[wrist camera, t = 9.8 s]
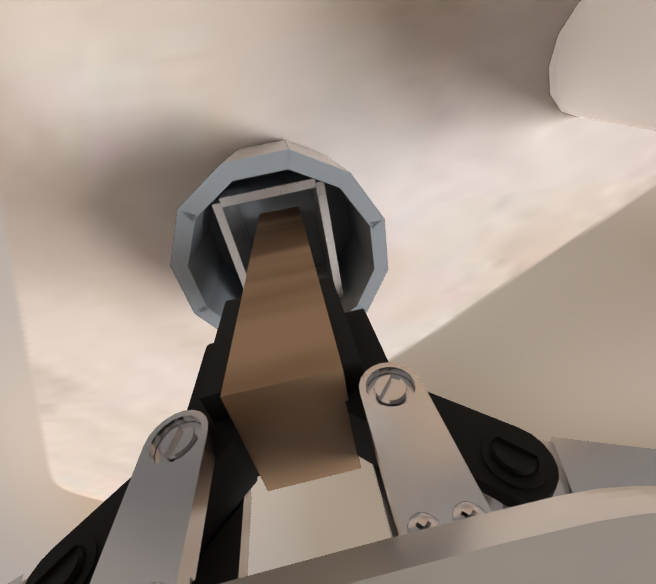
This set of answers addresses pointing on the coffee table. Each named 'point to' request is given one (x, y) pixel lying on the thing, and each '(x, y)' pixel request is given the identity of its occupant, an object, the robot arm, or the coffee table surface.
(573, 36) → the foam cup
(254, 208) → the faceted hollow tube
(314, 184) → the grey hollow box
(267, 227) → the brown wooden bar
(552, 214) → the coffee table surface
